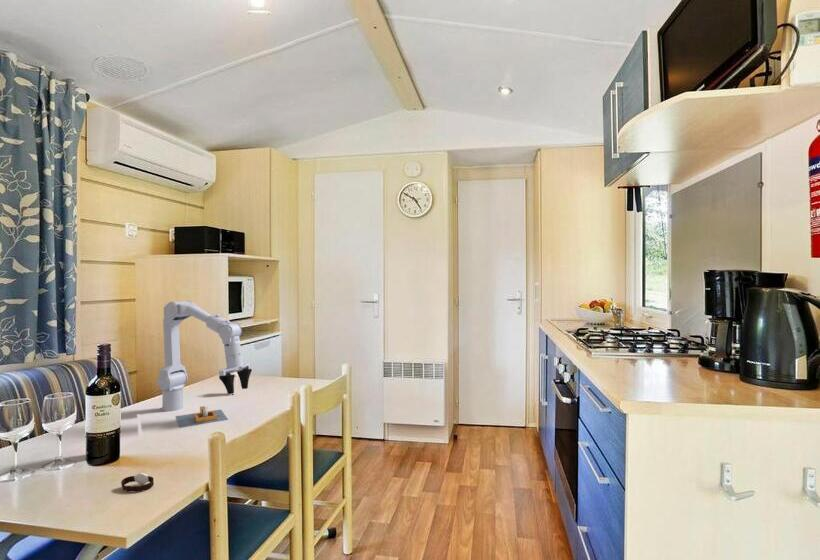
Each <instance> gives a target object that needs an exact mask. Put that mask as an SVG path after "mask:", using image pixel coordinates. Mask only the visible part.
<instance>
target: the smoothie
mask: <svg viewBox="0 0 820 560" xmlns="http://www.w3.org/2000/svg"><path fill="white" fill-rule="evenodd" d="M230 374H231V375H235V376H234V393H233V394H235V395H237V390H238V382H239V376H238V373H237V372H234V373H230ZM226 394H228V392H227V391H226ZM227 396H233V395H232V394H228V395H227Z"/></svg>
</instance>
